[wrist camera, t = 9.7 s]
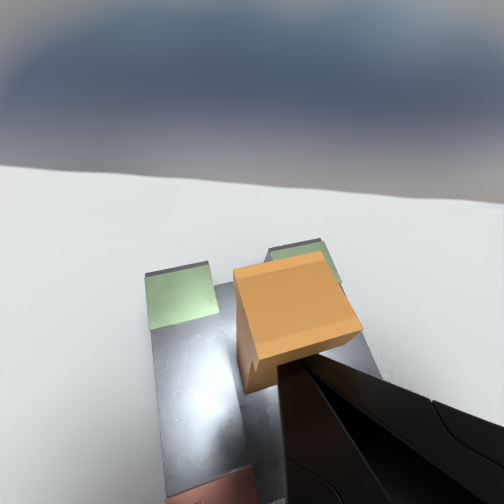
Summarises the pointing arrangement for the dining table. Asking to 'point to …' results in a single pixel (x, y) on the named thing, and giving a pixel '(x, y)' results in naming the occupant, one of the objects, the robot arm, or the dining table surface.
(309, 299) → the breaker handle
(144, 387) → the dining table surface
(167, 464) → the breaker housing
